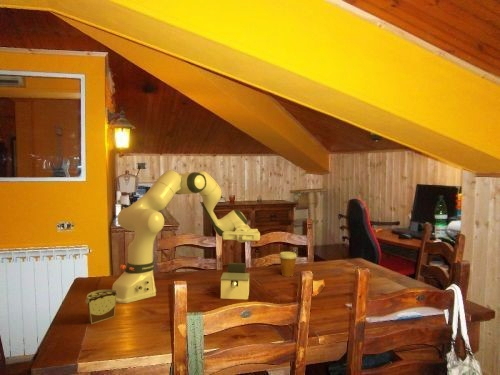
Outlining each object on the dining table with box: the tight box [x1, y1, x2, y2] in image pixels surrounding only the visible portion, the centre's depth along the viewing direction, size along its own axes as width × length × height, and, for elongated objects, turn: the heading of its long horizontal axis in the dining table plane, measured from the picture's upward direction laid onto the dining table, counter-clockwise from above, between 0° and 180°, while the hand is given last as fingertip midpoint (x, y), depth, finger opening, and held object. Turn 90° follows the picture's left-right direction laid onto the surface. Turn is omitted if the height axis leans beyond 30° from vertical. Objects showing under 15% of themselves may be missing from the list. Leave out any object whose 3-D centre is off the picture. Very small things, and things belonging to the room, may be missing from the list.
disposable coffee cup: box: [279, 251, 297, 278], centre depth 212 cm, size 10×10×12 cm
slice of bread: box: [311, 279, 326, 297], centre depth 189 cm, size 18×18×4 cm
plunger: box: [227, 262, 246, 288], centre depth 176 cm, size 17×8×11 cm, turn 177°
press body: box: [220, 272, 250, 300], centre depth 177 cm, size 10×12×9 cm
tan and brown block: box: [84, 289, 118, 325], centre depth 148 cm, size 12×6×10 cm, turn 141°
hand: (240, 238), depth 201 cm, fingers closed
